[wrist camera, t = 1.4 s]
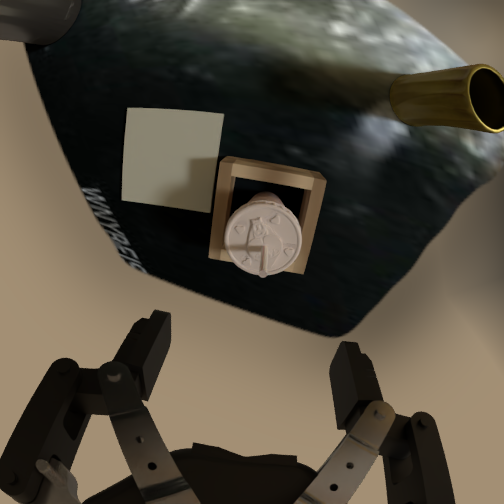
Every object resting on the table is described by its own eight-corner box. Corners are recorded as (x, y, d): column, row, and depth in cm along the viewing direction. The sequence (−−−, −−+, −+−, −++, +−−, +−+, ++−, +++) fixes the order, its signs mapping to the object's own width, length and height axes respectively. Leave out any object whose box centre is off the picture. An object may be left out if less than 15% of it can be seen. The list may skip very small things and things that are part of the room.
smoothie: (246, 240, 34) (231, 313, 22) (229, 188, 32) (199, 236, 19) (300, 226, 33) (316, 294, 21) (286, 172, 31) (295, 210, 18)
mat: (124, 198, 33) (121, 200, 33) (130, 108, 28) (127, 108, 28) (210, 211, 33) (209, 212, 33) (224, 114, 29) (223, 113, 28)
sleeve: (216, 240, 35) (208, 257, 31) (227, 156, 30) (220, 161, 26) (300, 255, 35) (303, 274, 31) (319, 172, 31) (326, 180, 26)
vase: (432, 131, 27) (513, 149, 14) (386, 119, 27) (459, 125, 14) (436, 83, 25) (517, 76, 12) (390, 68, 25) (461, 45, 12)
